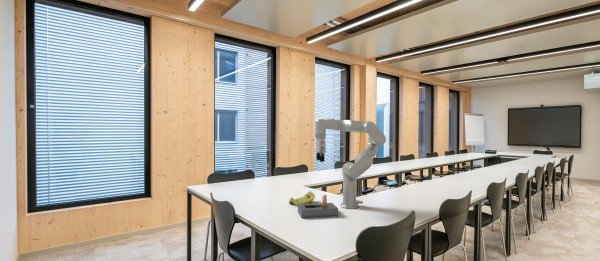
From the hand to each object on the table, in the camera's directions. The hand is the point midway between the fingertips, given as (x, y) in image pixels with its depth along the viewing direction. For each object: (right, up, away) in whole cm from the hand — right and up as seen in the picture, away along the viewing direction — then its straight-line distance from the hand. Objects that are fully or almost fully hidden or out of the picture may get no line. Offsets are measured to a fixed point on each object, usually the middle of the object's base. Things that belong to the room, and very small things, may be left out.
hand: (320, 160), depth 199 cm
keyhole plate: (-3, -34, -13) cm, 36 cm away
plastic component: (-12, -33, +12) cm, 37 cm away
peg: (+2, -33, -12) cm, 35 cm away
